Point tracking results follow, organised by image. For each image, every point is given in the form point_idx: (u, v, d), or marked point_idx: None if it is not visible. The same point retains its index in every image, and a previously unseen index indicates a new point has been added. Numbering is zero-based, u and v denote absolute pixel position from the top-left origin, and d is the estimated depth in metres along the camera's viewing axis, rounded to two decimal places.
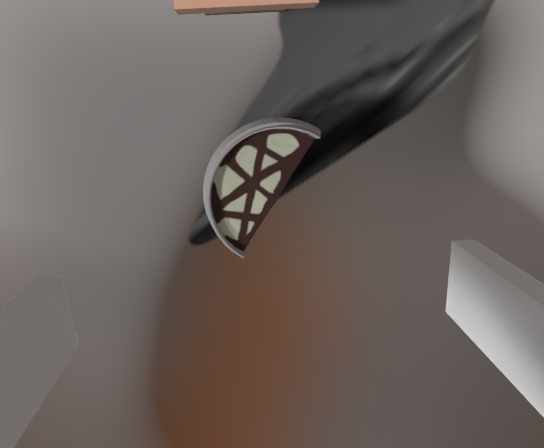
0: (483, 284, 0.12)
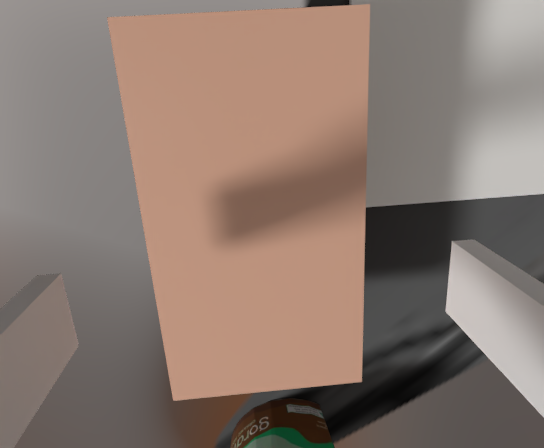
0: (483, 284, 0.12)
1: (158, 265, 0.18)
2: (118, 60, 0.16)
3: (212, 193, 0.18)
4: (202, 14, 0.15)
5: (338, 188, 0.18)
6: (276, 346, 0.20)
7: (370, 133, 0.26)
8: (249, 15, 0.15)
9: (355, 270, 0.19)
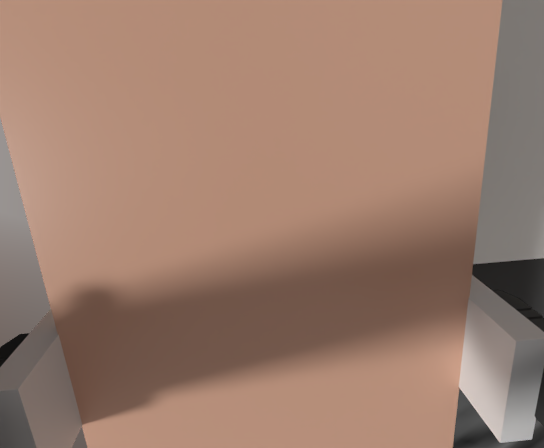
0: None
1: (95, 420, 0.10)
2: None
3: (190, 300, 0.09)
4: None
5: (420, 287, 0.10)
6: None
7: None
8: None
9: (441, 417, 0.11)
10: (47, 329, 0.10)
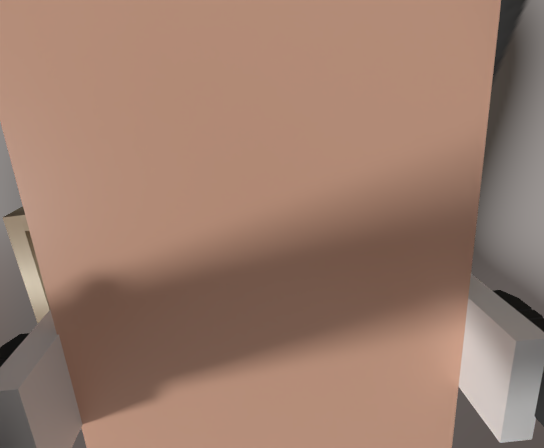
0: None
1: (95, 422, 0.10)
2: None
3: (189, 303, 0.09)
4: None
5: (419, 290, 0.10)
6: None
7: None
8: None
9: (440, 419, 0.11)
10: (47, 329, 0.10)
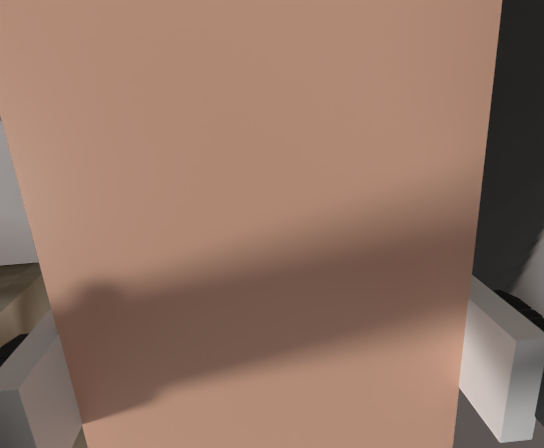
0: None
1: (96, 422, 0.10)
2: None
3: (191, 303, 0.10)
4: None
5: (420, 291, 0.10)
6: None
7: None
8: None
9: (441, 419, 0.11)
10: (47, 329, 0.10)
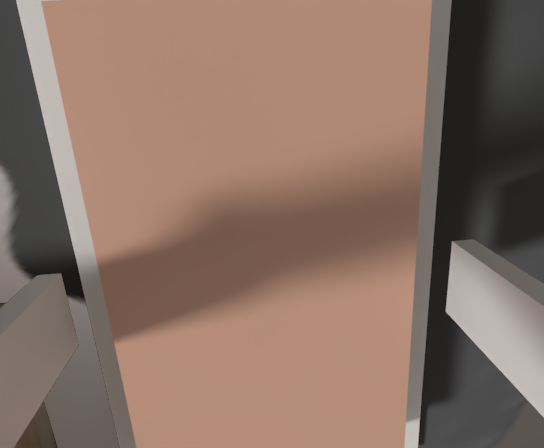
0: (483, 284, 0.12)
1: (127, 349, 0.13)
2: (60, 65, 0.10)
3: (201, 252, 0.12)
4: None
5: (378, 244, 0.13)
6: None
7: None
8: None
9: (399, 350, 0.14)
10: None
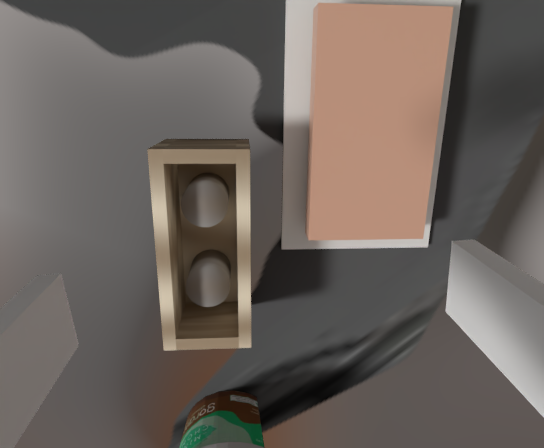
0: (483, 284, 0.12)
1: (317, 148, 0.32)
2: (319, 26, 0.29)
3: (354, 106, 0.31)
4: (366, 5, 0.29)
5: (424, 109, 0.31)
6: (375, 208, 0.34)
7: (297, 197, 0.36)
8: (390, 7, 0.29)
9: (428, 161, 0.33)
10: None
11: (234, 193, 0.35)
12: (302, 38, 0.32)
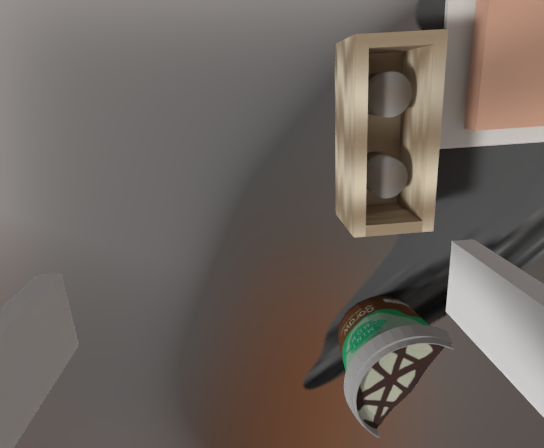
0: (483, 284, 0.12)
1: (489, 35, 0.34)
2: None
3: None
4: None
5: None
6: (540, 94, 0.36)
7: (454, 95, 0.38)
8: None
9: None
10: None
11: None
12: None
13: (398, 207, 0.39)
